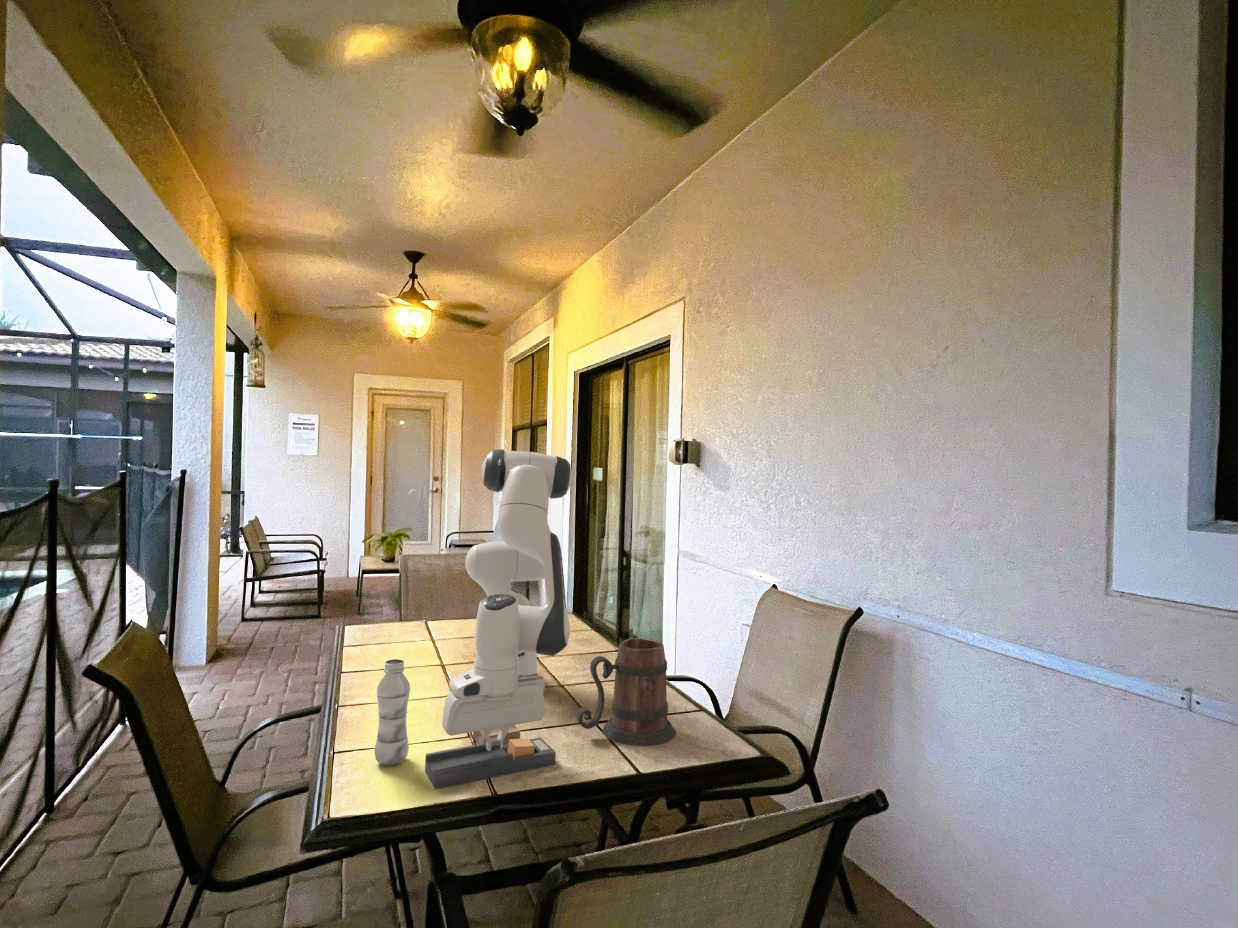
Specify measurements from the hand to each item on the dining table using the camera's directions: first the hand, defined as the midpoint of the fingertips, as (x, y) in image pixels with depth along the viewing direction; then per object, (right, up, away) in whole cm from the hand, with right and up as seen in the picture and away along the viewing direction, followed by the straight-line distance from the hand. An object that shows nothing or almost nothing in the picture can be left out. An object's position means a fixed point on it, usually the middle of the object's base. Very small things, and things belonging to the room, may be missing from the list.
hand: (494, 748), depth 131 cm
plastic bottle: (-21, -3, +1) cm, 21 cm away
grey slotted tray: (0, -4, 0) cm, 4 cm away
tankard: (+26, -5, +19) cm, 33 cm away
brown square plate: (-2, -4, +13) cm, 13 cm away
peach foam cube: (+3, -1, +1) cm, 4 cm away
